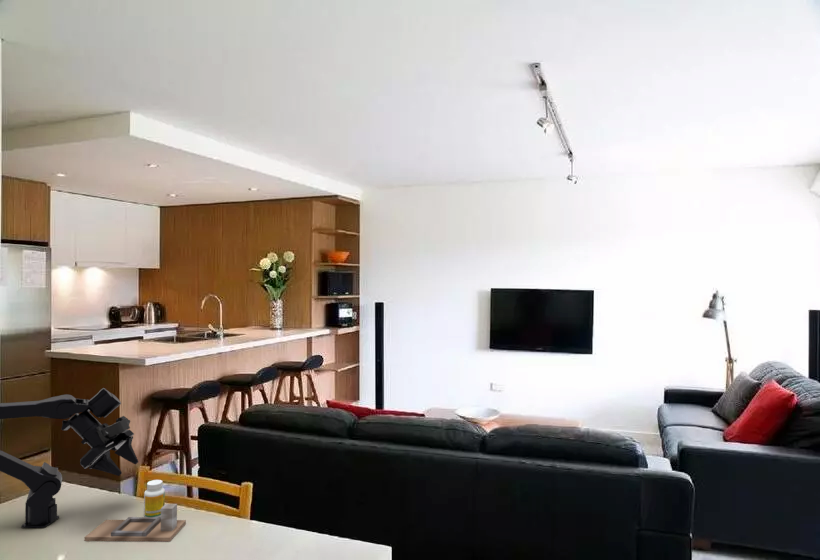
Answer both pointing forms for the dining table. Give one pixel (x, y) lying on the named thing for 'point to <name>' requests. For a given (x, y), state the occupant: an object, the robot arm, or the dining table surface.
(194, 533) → the dining table surface
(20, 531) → the dining table surface
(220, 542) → the dining table surface
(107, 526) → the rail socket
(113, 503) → the dining table surface
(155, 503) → the supplement bottle
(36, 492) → the robot arm
